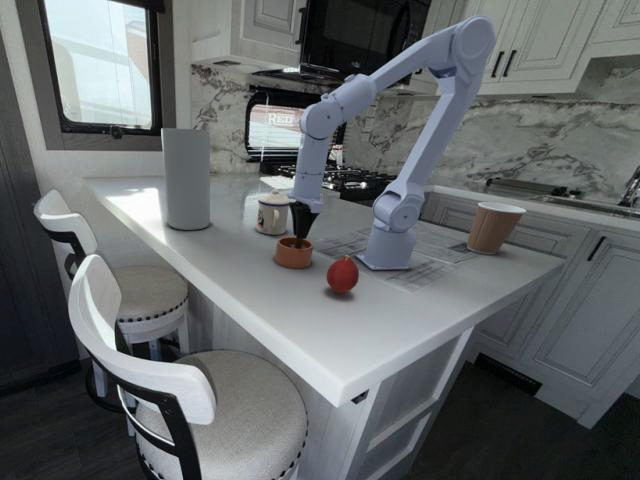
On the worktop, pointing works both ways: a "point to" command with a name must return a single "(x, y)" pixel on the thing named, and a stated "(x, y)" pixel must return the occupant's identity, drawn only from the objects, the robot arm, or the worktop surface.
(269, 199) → the teacup with lid
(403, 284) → the worktop surface
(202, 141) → the cylinder vase
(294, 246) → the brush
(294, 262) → the terracotta bowl
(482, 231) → the coffee cup
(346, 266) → the onion
